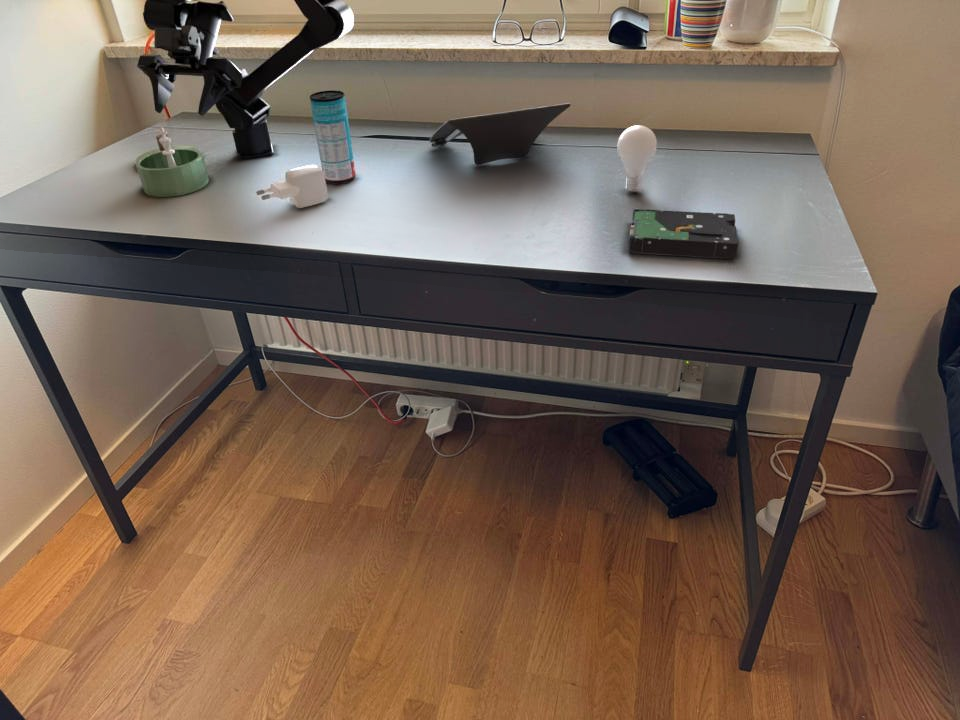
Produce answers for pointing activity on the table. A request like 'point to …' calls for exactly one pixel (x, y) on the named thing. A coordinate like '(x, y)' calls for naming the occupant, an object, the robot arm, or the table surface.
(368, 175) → the table surface
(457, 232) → the table surface
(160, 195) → the tin
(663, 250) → the disk drive
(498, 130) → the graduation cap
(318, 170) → the power adapter
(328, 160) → the beverage can
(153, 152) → the tin lid
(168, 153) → the chess piece
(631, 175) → the lightbulb
